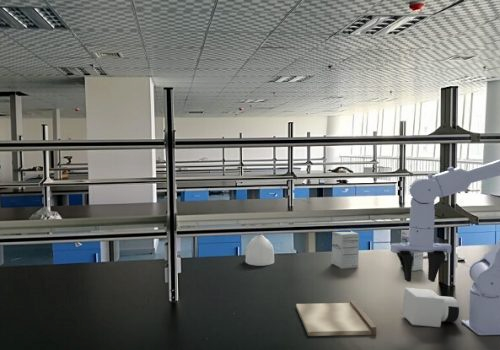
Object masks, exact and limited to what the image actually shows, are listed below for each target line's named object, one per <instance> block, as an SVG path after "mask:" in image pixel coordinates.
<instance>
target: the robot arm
mask: <svg viewBox="0 0 500 350" xmlns="http://www.w3.org/2000/svg"><path fill="white" fill-rule="evenodd" d="M446 169H447V170H445V171H442V172H439V173H435V174H432V173H429V174H427V178H423V177H422V178H421V177H420V178H417V179H415V180H414V181H412V183H411V185H410V188H408V189H409V193H410V196H411V200H410V208H409V226H408V227H409V242H406V243H401V242H398V243H397V242H395V243H391V244H390V252H392V253H393V254H396V256H397V257H398V259H399V262H401V265H402V271H403V276H404V280H405V281H406V282H407V283H411V282H412V271H411V269H412V263H413V259H414V257H413V256H411V254H410V252H423V253H427V254H426V255H427V264H428V269H427V279H428V280H429V282H432V283H434V282H435V281H436V277H437V275H438V273H439V271H440V268H441V266H442V264H443V262H445V260H446V254H451V253H452V245H451V244H449V243H439V242H434V240H435V216H436V215H435V213H436V209H435V201H436V199H437V198H444V197H447V196H451V195H454V194H457V193H461V192H464V191H467V190H468V189H469V187H470V186H471V184H473V183H476V182H480V181H484V180H488V179H492V178H495V177H499V176H500V159H497V160H494V161H491V162H488V163H485V164H481V165H479V166H476V167H472V168H471V169H467V170H465V169H463V168H461V167H456V168H454V167H453V166H449V167H447V168H446ZM445 253H446V254H445ZM468 271H469V273H468V274H469V276H470V279H471V280H472V282H473V283H472V285H471V286H470V287H469V309H468V310H469V311H468V313H469V315H468V319H461V323H462V324H463V325H465V326H466V327H467V328H469V329H470V330H471V331H473V332H474V333H475V334H477V335H478V336H497V335H498V336H500V239H499V240H498V241H497V243H496V244H495V245H494V247H493V248H492V249H491V250H490V251H488V252H487V253H484V255H483V257H481V259H479V260H477V261H475V262H473V263H472V265H471V266H470V268H469V270H468Z"/></svg>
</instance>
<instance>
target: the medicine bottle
mask: <svg viewBox="0 0 500 350" xmlns="http://www.w3.org/2000/svg"><path fill="white" fill-rule="evenodd" d="M459 306H460V305H459V303H458V300H457V299H456V298H455V297H453V296H443V295H439V294H437V293H436V292H434V291H433V289H427V288H414V287H405V288H404V291H403V300H402V308H401V315H402V316H403V317H404V318H406V320H407V321H408V322H409V323H410V324H411V325H412V326H421V327H434V328H441V327H442V326H441V325H442V322H447V323H449V322H450V323H455V322H456V321H457V320H458V318H459V316H460V307H459Z"/></svg>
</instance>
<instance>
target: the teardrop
mask: <svg viewBox="0 0 500 350" xmlns="http://www.w3.org/2000/svg"><path fill="white" fill-rule="evenodd" d="M245 263H246V264H248V265H251V266H263V267H264V266H269V265H273V264H274V263H275V250H274V246H273V244H272V243H271V241H269V239H268V238H266V237H265V236H264V235H263V234H262V235H259V236H257V235H255V237H253V238H251V240H250V241H249V243H248V244H247V245H246V248H245Z"/></svg>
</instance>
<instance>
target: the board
mask: <svg viewBox="0 0 500 350" xmlns="http://www.w3.org/2000/svg"><path fill="white" fill-rule="evenodd" d="M295 305H296V306H295V307H296V311H297V312H298V315H299V317H300V319H301V322H302V324H303V326H304V329H305V331H306V334H307V336H308V337H319V336H320V337H322V336H326V337H327V336H328V337H329V336H364V335H365V336H369V335H370V336H372V335H377V326H376V325H375V324H374V322H373V321H372V320H371V319H370V317H369V316H368V315H367V313H365V311H364V309H362V307H360V305H359V304H358V303H357V301H356V300H355V299H350V300H349V302H332V303H327V302H325V303H321V302H320V303H296V304H295Z"/></svg>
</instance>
